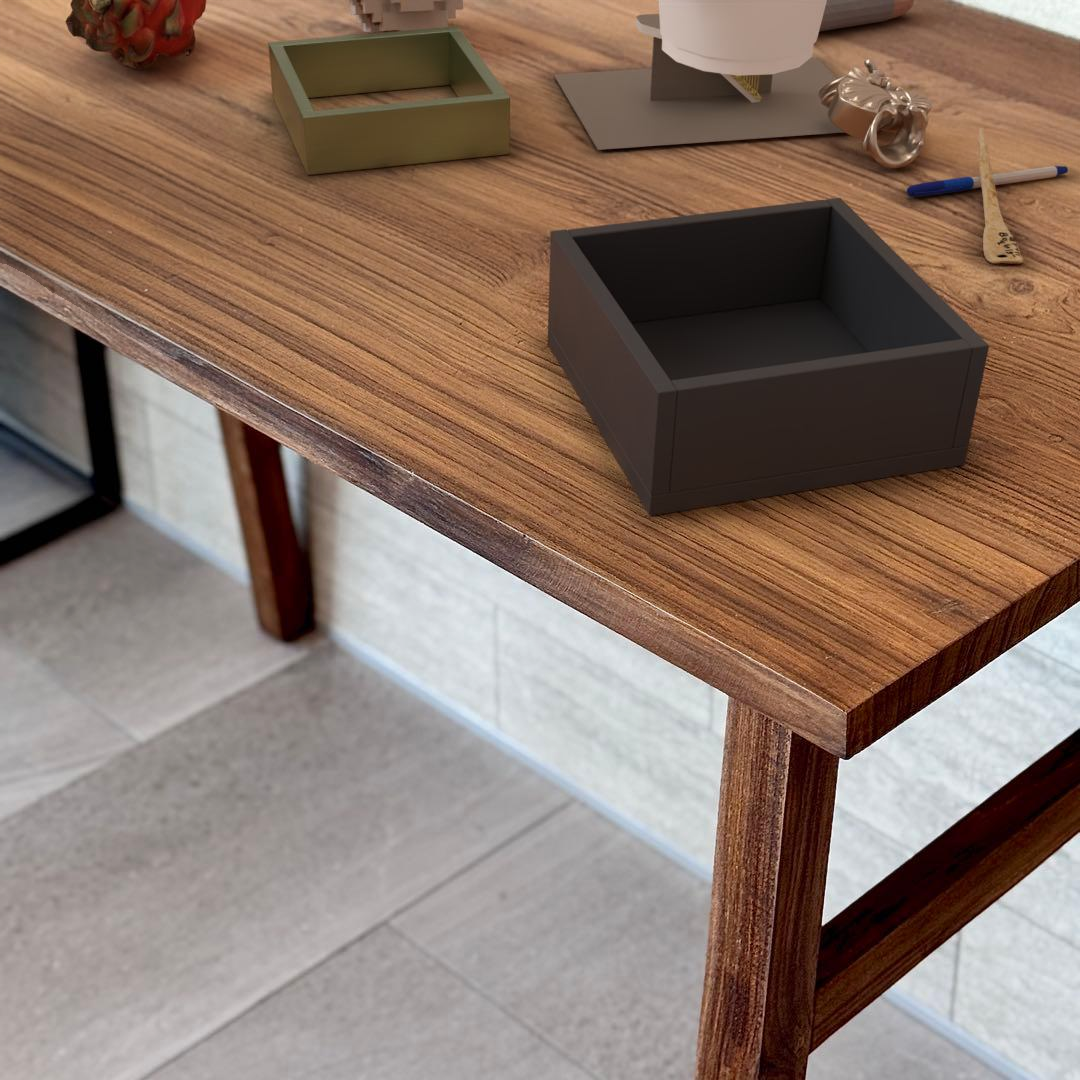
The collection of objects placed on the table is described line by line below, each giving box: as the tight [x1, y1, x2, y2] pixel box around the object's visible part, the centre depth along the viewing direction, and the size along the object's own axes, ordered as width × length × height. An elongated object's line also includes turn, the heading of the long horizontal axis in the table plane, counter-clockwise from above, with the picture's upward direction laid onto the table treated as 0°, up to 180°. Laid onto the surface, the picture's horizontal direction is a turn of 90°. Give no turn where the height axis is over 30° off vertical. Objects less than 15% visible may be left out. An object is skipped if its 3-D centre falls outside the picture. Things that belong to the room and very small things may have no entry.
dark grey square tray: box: [547, 197, 990, 517], centre depth 75 cm, size 15×15×6 cm
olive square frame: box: [267, 25, 511, 176], centre depth 100 cm, size 12×12×4 cm
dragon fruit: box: [64, 0, 207, 71], centre depth 107 cm, size 8×8×12 cm
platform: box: [553, 13, 845, 151], centre depth 103 cm, size 12×18×7 cm, turn 102°
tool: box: [977, 127, 1025, 265], centre depth 93 cm, size 14×1×2 cm
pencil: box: [819, 0, 915, 32], centre depth 115 cm, size 11×3×3 cm, turn 118°
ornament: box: [819, 57, 933, 169], centre depth 99 cm, size 8×7×4 cm
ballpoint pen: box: [906, 165, 1069, 197], centre depth 96 cm, size 10×1×1 cm
